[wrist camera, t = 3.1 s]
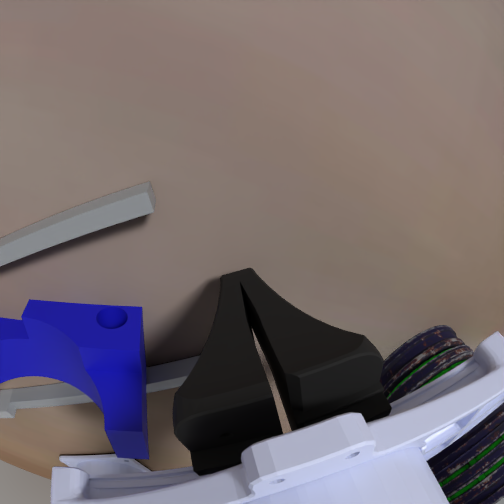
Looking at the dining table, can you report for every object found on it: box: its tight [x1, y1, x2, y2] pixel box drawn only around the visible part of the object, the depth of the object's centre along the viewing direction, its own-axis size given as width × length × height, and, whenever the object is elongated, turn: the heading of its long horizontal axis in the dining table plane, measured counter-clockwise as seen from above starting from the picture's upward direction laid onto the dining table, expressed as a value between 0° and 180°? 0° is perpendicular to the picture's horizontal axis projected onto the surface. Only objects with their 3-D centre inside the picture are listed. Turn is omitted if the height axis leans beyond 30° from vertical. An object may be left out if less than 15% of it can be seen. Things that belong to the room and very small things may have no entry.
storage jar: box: [379, 325, 504, 504], centre depth 17 cm, size 10×10×15 cm
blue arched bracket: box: [0, 299, 149, 459], centre depth 11 cm, size 12×4×6 cm, turn 80°
